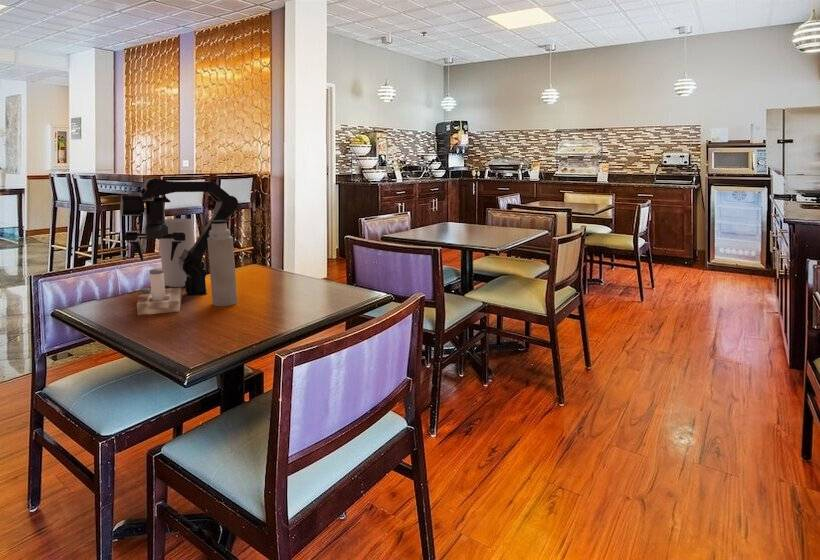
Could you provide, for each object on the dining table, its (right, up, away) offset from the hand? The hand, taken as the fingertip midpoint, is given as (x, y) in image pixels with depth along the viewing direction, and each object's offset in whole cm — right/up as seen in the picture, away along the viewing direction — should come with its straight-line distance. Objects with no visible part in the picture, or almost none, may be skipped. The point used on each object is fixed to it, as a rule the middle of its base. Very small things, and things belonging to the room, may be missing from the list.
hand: (157, 260), depth 187 cm
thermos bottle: (+25, -15, -4) cm, 29 cm away
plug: (+7, -16, -12) cm, 21 cm away
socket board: (+5, -15, -7) cm, 17 cm away
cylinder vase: (-2, -8, +25) cm, 26 cm away
